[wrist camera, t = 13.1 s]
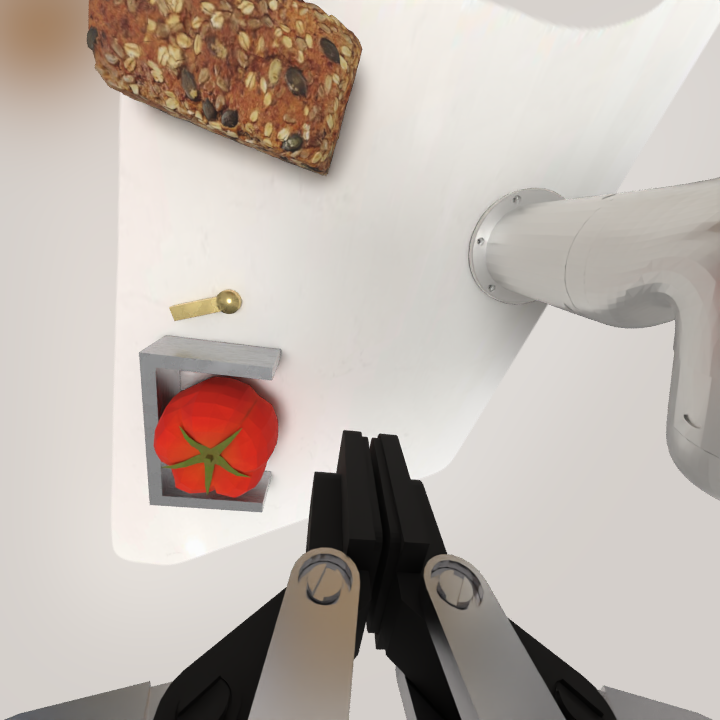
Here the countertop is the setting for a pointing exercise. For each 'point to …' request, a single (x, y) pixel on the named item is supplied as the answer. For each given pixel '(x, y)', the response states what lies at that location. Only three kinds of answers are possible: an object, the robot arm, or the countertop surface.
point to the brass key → (208, 306)
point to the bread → (234, 68)
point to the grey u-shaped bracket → (164, 383)
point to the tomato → (217, 437)
